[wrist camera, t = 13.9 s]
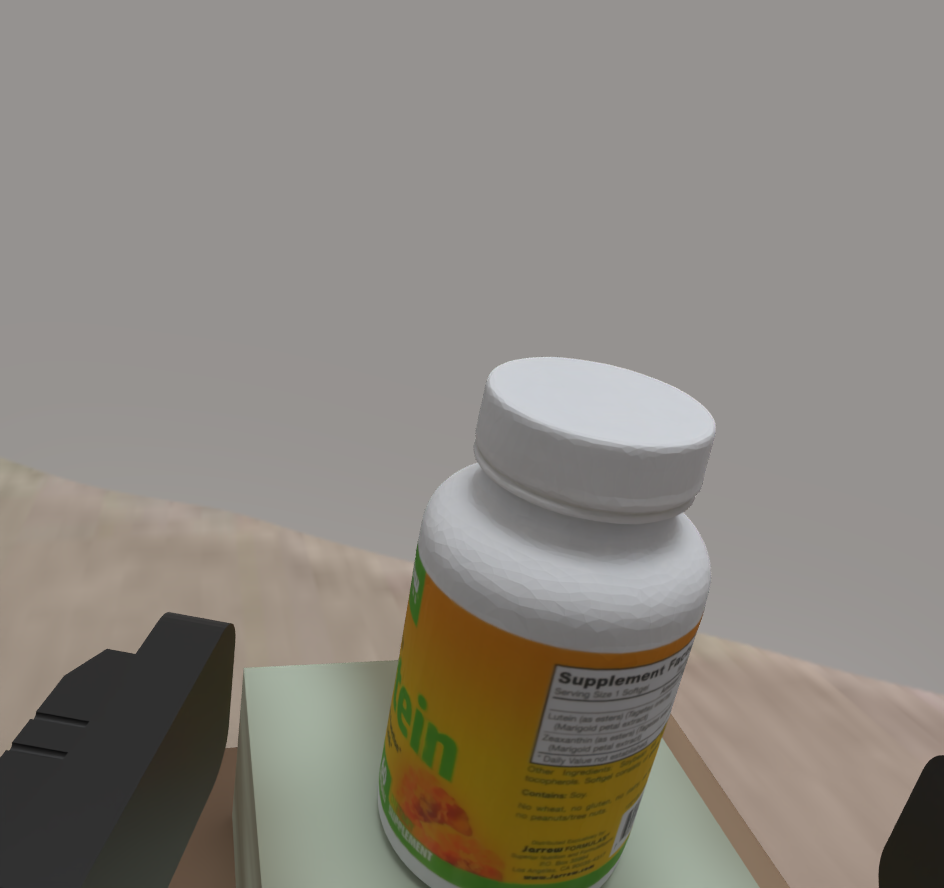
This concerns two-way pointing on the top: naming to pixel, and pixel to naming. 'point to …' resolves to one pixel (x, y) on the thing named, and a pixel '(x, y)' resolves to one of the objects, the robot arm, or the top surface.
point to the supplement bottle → (546, 629)
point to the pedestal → (356, 798)
